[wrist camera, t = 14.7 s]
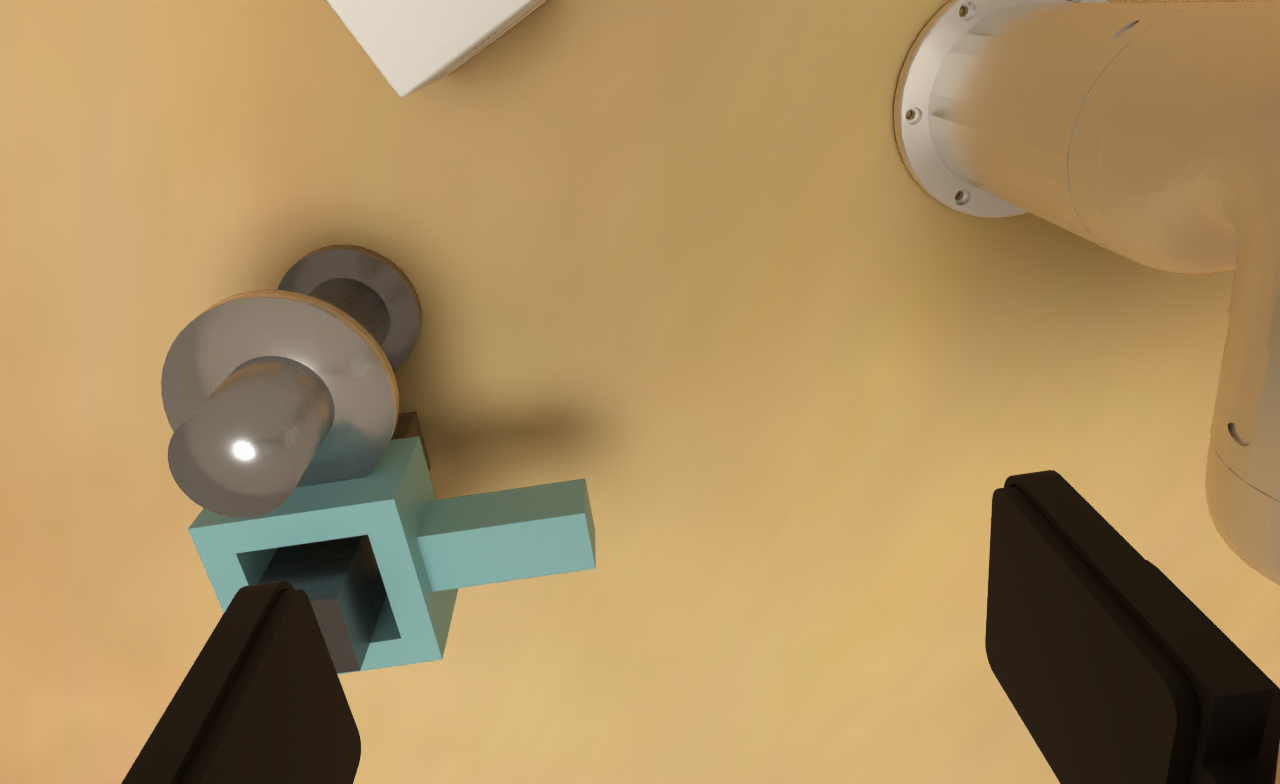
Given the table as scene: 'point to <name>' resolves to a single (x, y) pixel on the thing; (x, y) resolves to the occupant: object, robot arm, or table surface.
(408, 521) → the teal square frame handle
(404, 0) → the supplement box
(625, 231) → the table surface
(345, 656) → the steel wedge pin
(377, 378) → the grey tall round-topped piece
